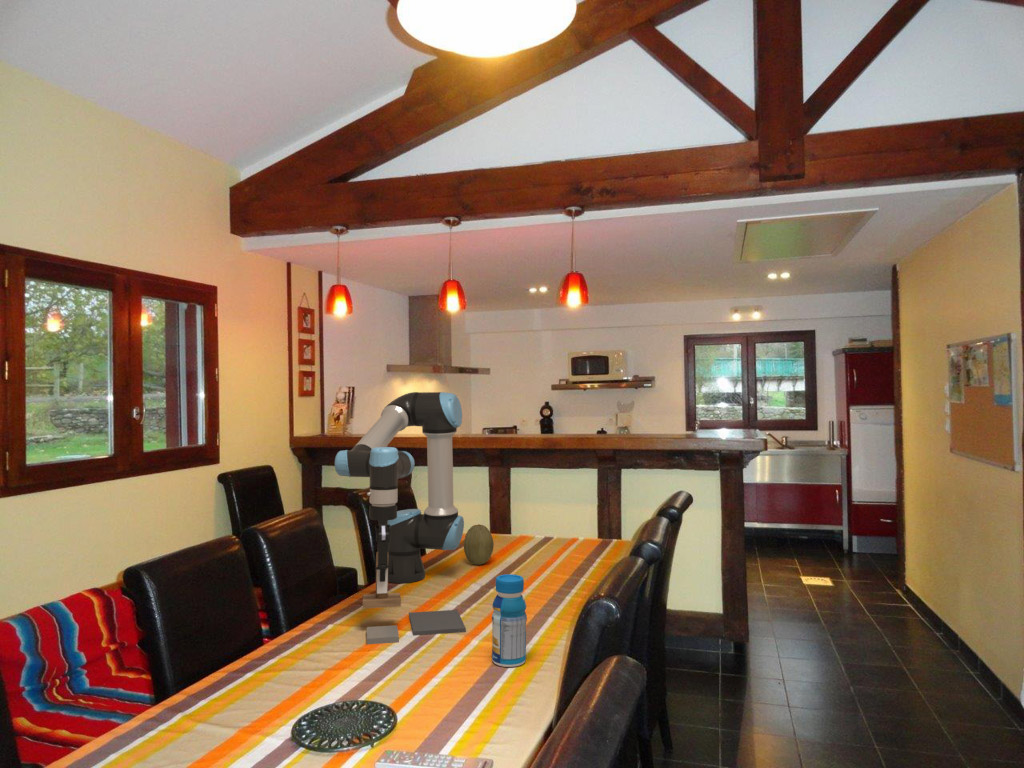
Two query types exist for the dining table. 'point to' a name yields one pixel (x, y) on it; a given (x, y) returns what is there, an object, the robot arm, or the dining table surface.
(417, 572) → the robot arm
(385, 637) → the tile
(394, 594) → the tamper
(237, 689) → the dining table surface
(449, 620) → the mat
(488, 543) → the fruit
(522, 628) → the beverage bottle
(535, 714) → the dining table surface
